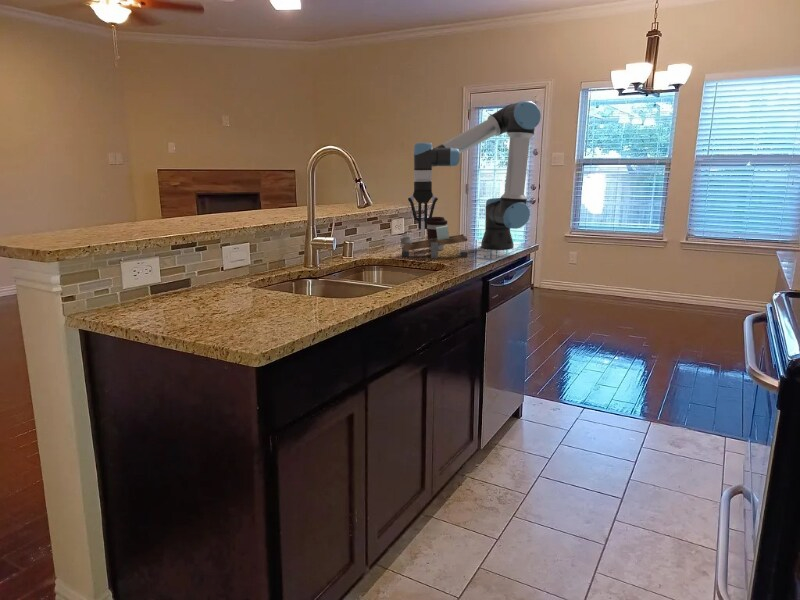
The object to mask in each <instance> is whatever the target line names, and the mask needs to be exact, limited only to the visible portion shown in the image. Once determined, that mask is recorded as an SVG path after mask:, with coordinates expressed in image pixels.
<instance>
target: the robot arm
mask: <svg viewBox="0 0 800 600" xmlns="http://www.w3.org/2000/svg"><path fill="white" fill-rule="evenodd" d="M541 117H542V115H541V110H540V108H539V106H538V105H537V104H536V103H534V102H533V101H529V100H523V101H522V100H521V101H518V102H515V103H509V104H508V105H506V106H504V107H502V108H501V109H499V110H497V111H496V112H494V113H492V114H491V115H488V117H487V119H486V120H484V121H483V122H480V123H479V124H476V125H475V126H473V127H472V128H471V127H470V129H467V130H465V131H464V132H462V133H460V134H458V135H456V136H454V137H453V138H451V139H449V140H447V141H444V142H443V143H441V144H440V145H437V146H436V147H433V143H432V142H416V143H415V144H414V146H413V147H414V148H413V180H414V182H413V192H412V195H411V196H409V197H408V198H407V201H408V202H409V203H410V207H411V211H412V216H413V220H414V221H417V222H418V225H417V227H418V230H420V238H425V237H426V236H425V230H427V222H428V221H429V220H431V219H432V217H433V214H434V210H435V207H436V206H435V205H436V203H437V201H438V200H439V199H438V197H437V196H435V195H434V193H433V189H432V188H433V182H432V180H433V171H432V170H433V168H434V167H456V166H458V164H459V163H460V160H461V154H462V153H464V152H466V151H468V150H469V149H471V148H473V147H475V146H477V145H479V144H481V143H483V142H485V141H486V140H488V139H491V138H492V137H494V136H496V137H499V136H501V135H502V134H505V133H506V134H507V135H508V137H509V145H508V155H507V156H508V157H507V164H506V165H507V167H506V173H505V174H506V175H505V185H504V193H503V194H502V195H501V196H500V197H495V198H493V197H492V198H488V199H487V200H486V202H485V226H484V227H485V228H484V233H483V237H482V240H481V242H480V246H481V247H480V248H483V249H490V250H510V249H512V248H514V241H513V236H512V234H511V229H520V228H522V227H524V226H525V225H526V224H527V223H528V222H529V220H530V217H531V212H530V211H531V210H530V208H529V206H528V205H527V203H528V198H527V196H526V195H525V188H526V179H527V170H528V159H529V150H530V141H531V138H532V137H533V136H534V135H535V129H536V128H537V126H538V125H539V123H540V122H541V119H542V118H541ZM414 199H415V201H416V202H417V205H418V206H417V207H418V210H416V208H415V204H414ZM431 200H432V203H431V207H430V211H429V215H428V203H429V202H430V201H431ZM422 204H424V212H423V213H424V215H423V216H424V218H423V219H424V221H423V220H422ZM416 211H418V214H417V212H416ZM417 215H418V217H417Z"/></svg>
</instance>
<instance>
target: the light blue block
mask: <svg viewBox="0 0 800 600" xmlns="http://www.w3.org/2000/svg"><path fill="white" fill-rule="evenodd" d="M448 227H449V225H446V226H441V227H436V231H437V238H438V240H443V239H449V236H450V234H449V228H448Z"/></svg>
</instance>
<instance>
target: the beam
mask: <svg viewBox="0 0 800 600" xmlns="http://www.w3.org/2000/svg"><path fill="white" fill-rule="evenodd" d="M431 242H438V246H440V245H444V246H446V245H450V244H452V245H453V244H457V243H464V242H465V243H466V242H468V237H467V235H464V233H463V234H461V233H460V234H454V235H449V239H443V240H438V238H436V239H430V240H428V239H424V240H423V239H422V240H418V241H417V240H416V241H412V239H411V234H408V235H403V236H400V244H401V252H402V251H408V250H409V251H414V250H419V249H427V248H429V247H431Z"/></svg>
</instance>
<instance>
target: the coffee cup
mask: <svg viewBox="0 0 800 600" xmlns="http://www.w3.org/2000/svg"><path fill="white" fill-rule="evenodd" d="M447 225H448V220H446V219H445V217H443V216H432V219H431V220H429V221H428V222H427V229H426V234H427V240H430V239H436V238H437V231H436V227H441V226H447ZM443 249H444V250H445V245H440V246H438V251H443ZM428 250H430V251H431V247H428Z"/></svg>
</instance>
